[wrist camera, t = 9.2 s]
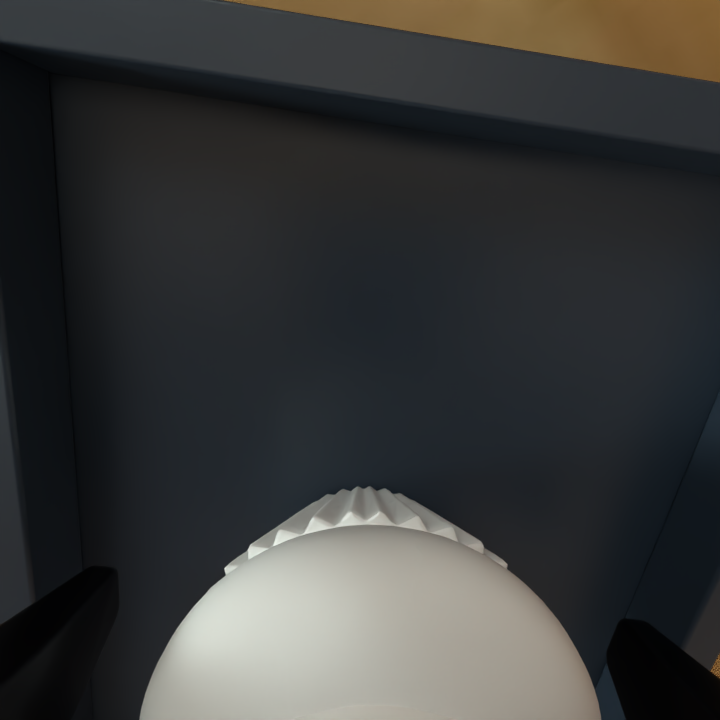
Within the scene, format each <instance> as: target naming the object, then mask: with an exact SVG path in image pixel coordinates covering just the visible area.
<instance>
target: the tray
mask: <svg viewBox="0 0 720 720" xmlns="http://www.w3.org/2000/svg"><path fill="white" fill-rule="evenodd" d="M368 486H371V487H372V488H373V489H375V490H376V491H378V490H381V489H384V488H386V489H387V490H389V491H390V492H391V493H392V494H397V493H401V494H403V495H404V496H406V497H407V498H409V499H410V500H414V501H416V502H417V503H419V504H420V505H422V506H424V507H426V508H427V509H429V510H431V511H432V512H434V513H436V514H437V515H439V516H441V517H442V518H444V519H446V520H447V521H449V522H450V523H452V524H454V525H455V526H457V527H459V528H460V529H462V530H464V531H465V532H467V533H468V534H470V535H472V536H473V537H475V538H477V539H478V540H480V541H481V542H482V544H483V546H484V548H485V549H487V550H489V551H490V552H492V553H494V554H495V555H497V556H498V557H500V558H501V559H502V560H503V561H505V562H506V563H507V570H509V571H510V572H511V573H513V574H514V575H515V576H516V577H518V578H519V579H520V580H521V581H522V582H524V583H525V584H526V585H527V586H528V587H529V588H530V589H531V590H532V591H533V592H534V593H535V594H536V595H537V596H538V597H539V598H540V599H541V600H542V601H543V602H544V603H545V604H546V606H547V607H548V608H549V609H550V611H551V612H552V613H553V614H554V615H555V617H556V618H557V619H558V620H559V622H560V623H561V625H562V626H563V628H564V629H565V631H566V632H567V634H568V635H569V637H570V639H571V641H572V642H573V644H574V646H575V648H576V649H577V651H578V653H579V655H580V657H581V659H582V661H583V663H584V665H585V667H586V669H587V671H588V673H589V676H590V678H591V681H592V684H593V686H594V689H595V693H596V696H597V699H598V703H599V709H600V714H601V720H626V719H625V716H624V713H623V710H622V707H621V704H620V701H619V698H618V695H617V692H616V689H615V687H614V684H613V681H612V678H611V675H610V672H609V669H608V666H607V661H606V651H607V648H608V645H609V643H610V641H611V638H612V636H613V633H614V631H615V628H616V626H617V624H618V622H619V621H620V620H621V619H624V618H627V619H637V620H643V621H646V622H648V623H649V624H650V625H652V626H653V627H654V628H656V629H657V630H658V631H659V632H661V633H662V634H663V635H665V636H666V637H667V638H668V639H670V640H671V641H672V642H673V643H675V644H676V645H677V646H679V647H680V648H681V649H682V650H684V651H685V652H686V653H687V654H689V655H690V656H691V657H693V658H694V659H695V660H696V661H698V662H699V663H700V664H702V665H703V666H704V667H705V668H707V669H708V670H709V671H711V669H712V667H713V665H714V663H715V661H716V659H717V657H718V655H719V653H720V83H719V82H713V81H707V80H701V79H695V78H688V77H682V76H676V75H670V74H664V73H658V72H652V71H646V70H640V69H634V68H628V67H622V66H616V65H610V64H604V63H598V62H592V61H586V60H580V59H574V58H568V57H561V56H555V55H549V54H543V53H537V52H531V51H525V50H519V49H513V48H507V47H501V46H495V45H489V44H483V43H477V42H471V41H465V40H459V39H453V38H447V37H440V36H434V35H428V34H422V33H416V32H410V31H404V30H398V29H392V28H386V27H380V26H374V25H368V24H362V23H356V22H350V21H344V20H338V19H332V18H326V17H320V16H313V15H307V14H301V13H295V12H289V11H283V10H277V9H271V8H265V7H259V6H253V5H247V4H241V3H235V2H229V1H223V0H0V625H1V624H2V623H4V622H5V621H7V620H8V619H10V618H11V617H13V616H14V615H16V614H17V613H19V612H20V611H22V610H23V609H25V608H27V607H28V606H30V605H31V604H33V603H34V602H36V601H37V600H39V599H40V598H42V597H43V596H45V595H46V594H48V593H50V592H51V591H53V590H54V589H56V588H57V587H59V586H60V585H62V584H63V583H65V582H66V581H68V580H69V579H71V578H72V577H74V576H76V575H77V574H79V573H80V572H82V571H83V570H85V569H86V568H88V567H90V566H94V565H97V566H107V567H114V568H116V569H117V571H118V579H119V610H118V614H117V617H116V620H115V622H114V625H113V627H112V629H111V632H110V634H109V636H108V638H107V641H106V643H105V645H104V648H103V650H102V652H101V655H100V657H99V659H98V661H97V664H96V666H95V668H94V671H93V673H92V675H91V677H90V680H89V682H88V684H87V687H86V689H85V691H84V694H83V696H82V698H81V700H80V703H79V705H78V707H77V709H76V711H75V714H74V716H73V718H72V720H139V718H140V713H141V707H142V704H143V700H144V696H145V693H146V690H147V687H148V685H149V682H150V679H151V677H152V674H153V672H154V670H155V668H156V665H157V663H158V661H159V659H160V657H161V656H162V654H163V652H164V650H165V648H166V646H167V644H168V643H169V641H170V639H171V637H172V636H173V634H174V633H175V631H176V629H177V628H178V626H179V625H180V624H181V622H182V621H183V620H184V618H185V617H186V616H187V614H188V613H189V612H190V610H191V609H192V608H193V607H194V606H195V605H196V603H197V602H198V601H199V600H200V599H201V598H202V597H203V596H204V595H205V594H206V593H207V591H208V590H209V589H210V588H211V587H212V586H213V585H214V584H216V583H217V582H218V581H219V580H221V579H222V578H223V577H224V576H226V574H225V570H224V568H225V567H226V566H227V565H228V564H229V563H230V562H232V561H233V560H234V559H236V558H237V557H238V556H240V555H242V554H243V553H245V552H246V551H248V548H249V546H250V544H252V543H253V542H255V541H256V540H258V539H259V538H261V537H262V536H264V535H265V534H267V533H268V532H270V531H271V530H273V529H274V528H276V527H277V526H279V525H280V524H282V523H283V522H285V521H286V520H288V519H289V518H290V517H292V516H293V515H295V514H296V513H298V512H299V511H301V510H302V509H304V508H305V507H307V506H309V505H310V504H311V503H313V502H315V501H318V500H320V499H321V498H322V497H324V496H325V495H327V494H331V495H336V494H337V493H338V492H339V491H340V490H341V489H345V490H348V491H352V490H353V489H354V488H355V487H361V488H362V489H365V488H367V487H368Z"/></svg>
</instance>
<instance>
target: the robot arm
mask: <svg viewBox="0 0 720 720" xmlns="http://www.w3.org/2000/svg"><path fill="white" fill-rule="evenodd" d="M118 610H119V579H118V571H117V569H116V568H114V567H107V566H97V565H94V566H90V567H88V568H86V569H85V570H83V571H82V572H80V573H79V574H77V575H76V576H74V577H72V578H71V579H69V580H68V581H66V582H65V583H63V584H62V585H60V586H59V587H57V588H56V589H54V590H53V591H51V592H50V593H48V594H46V595H45V596H43V597H42V598H40V599H39V600H37V601H36V602H34V603H33V604H31V605H30V606H28V607H27V608H25V609H23V610H22V611H20V612H19V613H17V614H16V615H14V616H13V617H11V618H10V619H8V620H7V621H5V622H4V623H2V624H1V625H0V720H72V718H73V716H74V714H75V711H76V709H77V707H78V705H79V703H80V700H81V698H82V696H83V694H84V691H85V689H86V687H87V684H88V682H89V680H90V677H91V675H92V673H93V671H94V668H95V666H96V664H97V661H98V659H99V657H100V655H101V652H102V650H103V648H104V645H105V643H106V641H107V638H108V636H109V634H110V632H111V629H112V627H113V625H114V622H115V620H116V617H117V614H118ZM606 661H607V666H608V669H609V672H610V675H611V678H612V681H613V684H614V687H615V689H616V692H617V695H618V698H619V701H620V704H621V707H622V710H623V713H624V716H625V719H626V720H720V679H719V678H718V677H717V676H716V675H714V674H713V673H712V672H710V671H709V670H708V669H707V668H705V667H704V666H703V665H702V664H700V663H699V662H698V661H696V660H695V659H694V658H693V657H691V656H690V655H689V654H687V653H686V652H685V651H684V650H682V649H681V648H680V647H679V646H677V645H676V644H675V643H673V642H672V641H671V640H670V639H668V638H667V637H666V636H665V635H663V634H662V633H661V632H659V631H658V630H657V629H656V628H654V627H653V626H652V625H650V624H649V623H648V622H646V621H643V620H637V619H627V618H624V619H621V620H620V621H619V622H618V624H617V626H616V628H615V631H614V633H613V636H612V638H611V641H610V643H609V645H608V648H607V651H606Z"/></svg>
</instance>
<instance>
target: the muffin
mask: <svg viewBox="0 0 720 720" xmlns="http://www.w3.org/2000/svg"><path fill="white" fill-rule="evenodd" d="M224 570H225V574H226V576H224V577H223V578H222V579H221V580H219V581H218V582H217V583H216V584H214V585H213V586H212V587H211V588H210V589H209V590H208V591H207V593H206V594H205V595H204V596H203V597H202V598H201V599H200V600H199V601H198V602H197V603H196V605H195V606H194V607H193V608H192V609H191V610H190V612H189V613H188V614H187V616H186V617H185V618H184V620H183V621H182V622H181V624H180V625H179V626H178V628H177V629H176V631H175V633H174V634H173V636H172V637H171V639H170V641H169V643H168V644H167V646H166V648H165V650H164V652H163V654H162V656H161V657H160V659H159V661H158V663H157V665H156V668H155V670H154V672H153V674H152V677H151V679H150V682H149V685H148V687H147V690H146V693H145V696H144V700H143V704H142V707H141V713H140V718H139V720H601V714H600V709H599V703H598V699H597V696H596V693H595V689H594V686H593V684H592V681H591V678H590V676H589V673H588V671H587V669H586V667H585V665H584V663H583V661H582V659H581V657H580V655H579V653H578V651H577V649H576V648H575V646H574V644H573V642H572V641H571V639H570V637H569V635H568V634H567V632H566V631H565V629H564V628H563V626H562V625H561V623H560V622H559V620H558V619H557V618H556V617H555V615H554V614H553V613H552V612H551V611H550V609H549V608H548V607H547V606H546V604H545V603H544V602H543V601H542V600H541V599H540V598H539V597H538V596H537V595H536V594H535V593H534V592H533V591H532V590H531V589H530V588H529V587H528V586H527V585H526V584H525V583H524V582H522V581H521V580H520V579H519V578H518V577H516V576H515V575H514V574H513V573H511V572H510V571H509V570H507V563H506V562H505V561H503V560H502V559H501V558H500V557H498V556H497V555H495V554H494V553H492V552H490V551H489V550H487V549H485V548H484V546H483V544H482V542H481V541H480V540H478V539H477V538H475V537H473V536H472V535H470V534H468V533H467V532H465V531H464V530H462V529H460V528H459V527H457V526H455V525H454V524H452V523H450V522H449V521H447V520H446V519H444V518H442V517H441V516H439V515H437V514H436V513H434V512H432V511H431V510H429V509H427V508H426V507H424V506H422V505H420V504H419V503H417V502H416V501H414V500H410V499H409V498H407V497H406V496H404V495H403V494H401V493H397V494H392V493H391V492H390V491H389V490H387V489H386V488H384V489H381V490H378V491H376V490H375V489H373V488H372V487H371V486H368V487H367V488H365V489H362V488H361V487H355V488H354V489H353V490H352V491H348V490H345V489H341V490H340V491H339V492H338V493H337V494H336V495H331V494H327V495H325V496H324V497H322V498H321V499H320V500H318V501H315V502H313V503H311V504H310V505H309V506H307V507H305V508H304V509H302V510H301V511H299V512H298V513H296V514H295V515H293V516H292V517H290V518H289V519H288V520H286V521H285V522H283V523H282V524H280V525H279V526H277V527H276V528H274V529H273V530H271V531H270V532H268V533H267V534H265V535H264V536H262V537H261V538H259V539H258V540H256V541H255V542H253V543H252V544H250V546H249V548H248V551H246V552H245V553H243V554H242V555H240V556H238V557H237V558H236V559H234V560H233V561H232V562H230V563H229V564H228V565H227V566H226V567H225V568H224Z"/></svg>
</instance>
